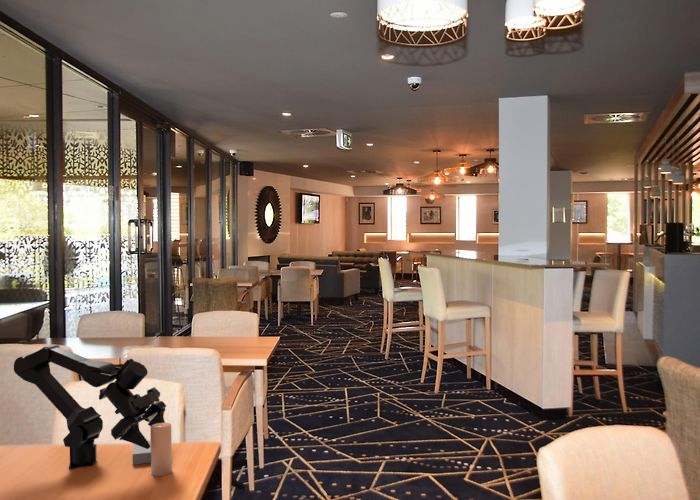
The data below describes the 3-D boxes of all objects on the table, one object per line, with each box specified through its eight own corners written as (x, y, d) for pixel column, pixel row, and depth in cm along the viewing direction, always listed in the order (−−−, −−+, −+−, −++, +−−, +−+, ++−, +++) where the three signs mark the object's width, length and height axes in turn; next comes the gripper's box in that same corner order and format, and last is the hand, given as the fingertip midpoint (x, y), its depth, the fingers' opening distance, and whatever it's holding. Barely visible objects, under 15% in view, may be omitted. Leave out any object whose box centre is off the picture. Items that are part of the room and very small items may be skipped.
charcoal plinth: (132, 464, 168) (132, 454, 168) (134, 452, 178) (134, 442, 178) (169, 460, 171) (168, 450, 171) (168, 448, 181) (168, 438, 181)
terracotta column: (151, 477, 160) (150, 430, 159) (151, 469, 165) (150, 423, 165) (172, 474, 161) (171, 427, 161) (171, 467, 167) (171, 421, 166)
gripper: (119, 390, 155) (157, 434, 152) (159, 373, 173) (194, 412, 170) (94, 417, 157) (131, 461, 155) (137, 398, 175) (170, 437, 173)
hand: (158, 441), depth 163 cm, fingers open, 9 cm apart
